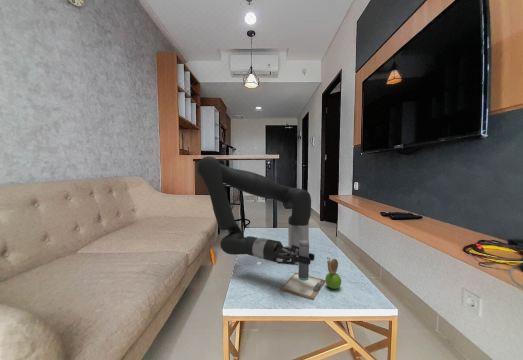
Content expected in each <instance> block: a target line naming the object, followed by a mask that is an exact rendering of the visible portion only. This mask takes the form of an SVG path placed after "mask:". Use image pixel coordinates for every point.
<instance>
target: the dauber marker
mask: <svg viewBox="0 0 523 360" xmlns="http://www.w3.org/2000/svg"><path fill="white" fill-rule="evenodd" d="M309 253H310V239H309V240H305V239H301V240H299V256H304V257H309ZM309 268H310V264H309V265H307V264H303V263H299V264H298V272H297V273H298V278H299V279H300V280H302V281H306V280H308V278H309V276H310V275H309V270H310V269H309Z"/></svg>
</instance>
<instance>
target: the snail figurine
mask: <svg viewBox="0 0 523 360" xmlns="http://www.w3.org/2000/svg"><path fill="white" fill-rule="evenodd" d="M326 259H327V261H326V262H327V270H328V273H327V274H326V276H325V279H324V280H325V284H326V286H327V287H328V288H330V289H331V290H336V289H339V288H340V287H341V285H342V278H341V276H340V275H339V274H338V273H337V272H338V267H339V262H338V260H337V259H336V258H332V259H331V258H330V257H329V256H328V257H326Z"/></svg>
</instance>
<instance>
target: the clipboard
mask: <svg viewBox="0 0 523 360" xmlns="http://www.w3.org/2000/svg"><path fill="white" fill-rule="evenodd" d="M298 273H299V272H294V273H293V275H292V276H290V278H289V279H288V280H287V281H286V282H285V283H284V284H283V285H282V286H281V287H280V288H279V290H280V291H282V292H284V293H289V294H293V295H295V296H298V297H301V298H304V299H308V300H311V301H314V300H315V298H316V296H317V295H318V294H319V292H320V290H321V289H322V288H323V285H324V284H326V281H325V279H322V278H319V277H315V276H310V275H309V278H308V280H306V281H302V280H300V279H299V278H298Z"/></svg>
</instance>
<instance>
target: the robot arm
mask: <svg viewBox="0 0 523 360" xmlns="http://www.w3.org/2000/svg"><path fill="white" fill-rule="evenodd" d="M195 168H196V173H197V175H198V176H199V177H200V178H201V179H202V180H203V182H204V184H205V186H206V188H207V191H208V193H209V197H210V201H211V204H212V210H213V214H214V217H215V219H216V223H217V226H218V228H219V230H220V231H227V232H228V234H226V235H224V237H223V238H222V239H221V241H220V243H219V244H220V249H221V250H222V251H223V252H224V253H226V254H227V255H233V256H235V255H247V256H252V257H254V258H255V257H256V258H258V259H261V260H265V261H269V262H272V263H276V264H281V265H291V266H292V265H293V266H294V265H299V263H303V264H307V265H309V266H310V265H311V261H312V262H313V261H315V253H311V252H309V257H304V256H299V240H301V239H305V240H309V241H310V239H309V238H310V237H309V234H310V230H309V229H310V227H309V226H310V224H309V223H310V219H311V216H312V215H311V213H312V196H311V194H310V193H309V192H308V191H307V190H306V189H302V188H298V187H291V186H288V185H287V186H286V185H282V184H280V183H278V182H276V181H274V180H273V179H270V178H269V177H267V176H264V175H261V174H258V173H256V172H253V171H248V170H244V169H237V168H233V167H229V166H227V165H225V164H222V163H220V160H218V159H217V158H216V157H214V156H204V157H202V158H201V159H200V160H199V161H198V162H197V164H196V167H195ZM225 185H227V186H230V187H232V188H233V189H234V188H235V189H236V190H239V191H241V192H244V193H246V194H249V195H252V196H255V197H259V198H263V199H269V200H272V199H273V200H276V201H278V202H280V203H283V204H284V205H287V206H289V207H291V215H290V216H289V217H288V220H287V222H288V228H287V229H288V230H287V231H288V232H287V234H288V239H287V240H288V245H287V246H284V245H283V243H282V242H281V241H280V240H275V239H269V238H265V237H264V238H263V237H257V236H256V237H255V236H252V235H251V236H249V235H248V236H246V237H245V234H244V232H243V230H242V229H241V228H240V226H239V224H238V223H237V221H236V219H235V216H234V213H233V211H232V210H233V209H232V207H231V204H230V201H229V198H228V195H227V193H226V189H225Z"/></svg>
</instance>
